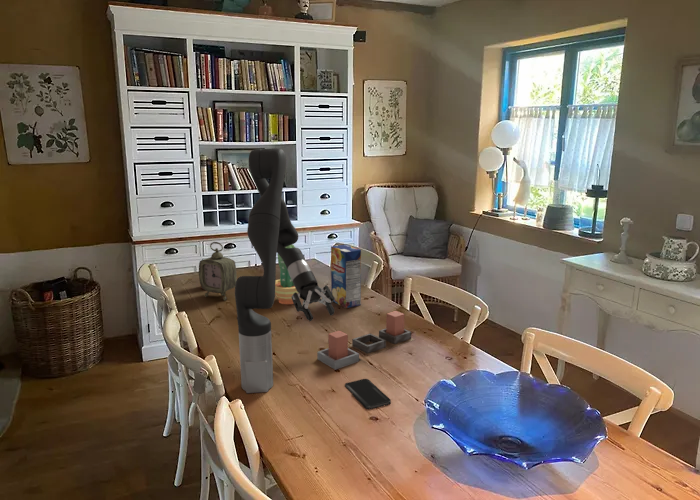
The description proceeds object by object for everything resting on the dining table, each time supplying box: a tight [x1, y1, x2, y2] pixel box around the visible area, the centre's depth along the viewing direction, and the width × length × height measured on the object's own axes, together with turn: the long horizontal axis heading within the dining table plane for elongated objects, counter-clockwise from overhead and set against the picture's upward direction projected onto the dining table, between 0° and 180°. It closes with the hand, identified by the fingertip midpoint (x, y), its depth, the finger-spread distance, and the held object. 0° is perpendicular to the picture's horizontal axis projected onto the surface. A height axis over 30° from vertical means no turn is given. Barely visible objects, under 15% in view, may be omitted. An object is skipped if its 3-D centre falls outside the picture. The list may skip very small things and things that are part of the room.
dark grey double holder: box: [348, 328, 416, 357], centre depth 183 cm, size 21×11×4 cm, turn 128°
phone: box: [344, 378, 392, 410], centre depth 151 cm, size 8×1×15 cm
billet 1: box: [327, 330, 349, 360], centre depth 171 cm, size 4×4×9 cm
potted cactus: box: [275, 244, 298, 305], centre depth 227 cm, size 15×15×25 cm
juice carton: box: [330, 244, 362, 309], centre depth 225 cm, size 12×8×24 cm, turn 32°
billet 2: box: [385, 310, 405, 336], centre depth 186 cm, size 4×4×9 cm
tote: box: [317, 347, 360, 371], centre depth 172 cm, size 10×10×3 cm
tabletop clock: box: [198, 241, 238, 301], centre depth 233 cm, size 14×9×25 cm, turn 62°
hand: (322, 317), depth 176 cm, fingers open, 8 cm apart
